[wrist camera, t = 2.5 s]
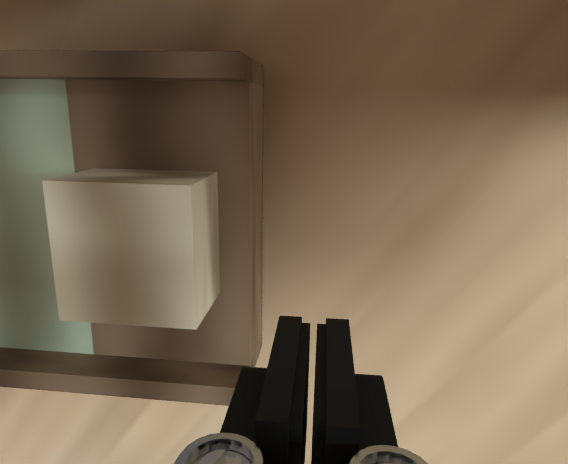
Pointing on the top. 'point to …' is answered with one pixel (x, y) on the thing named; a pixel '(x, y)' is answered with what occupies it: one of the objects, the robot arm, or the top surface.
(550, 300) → the top surface
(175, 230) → the birch block
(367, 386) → the robot arm
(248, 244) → the lane deck
